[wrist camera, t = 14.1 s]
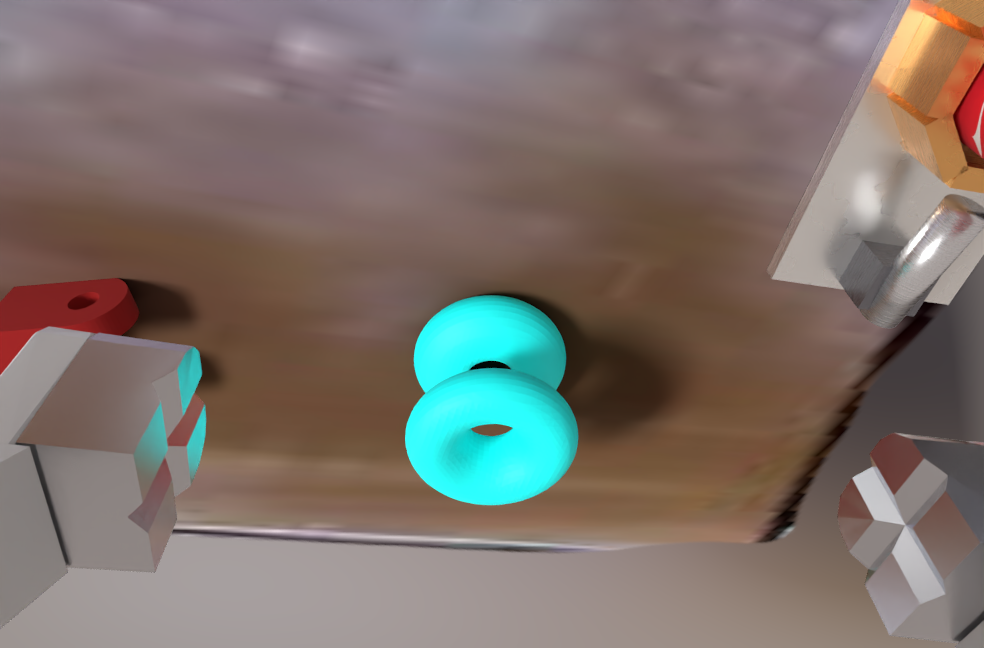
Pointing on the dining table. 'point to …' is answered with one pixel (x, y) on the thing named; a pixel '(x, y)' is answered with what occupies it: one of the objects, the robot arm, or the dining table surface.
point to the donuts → (491, 402)
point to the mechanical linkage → (64, 311)
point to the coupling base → (898, 173)
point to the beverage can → (972, 115)
